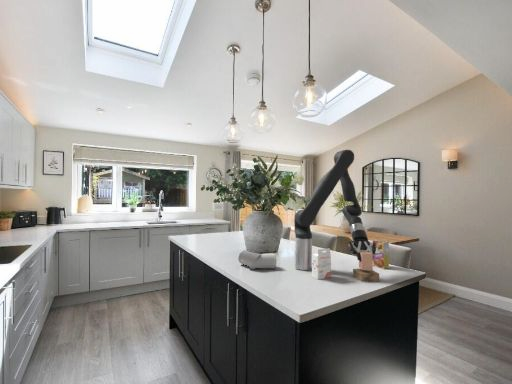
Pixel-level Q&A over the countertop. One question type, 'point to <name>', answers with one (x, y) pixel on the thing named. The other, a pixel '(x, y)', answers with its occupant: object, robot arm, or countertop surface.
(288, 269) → the countertop surface
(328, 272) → the ink cartridge box
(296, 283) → the countertop surface
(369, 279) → the walnut block
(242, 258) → the bent grey cylinder
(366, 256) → the terracotta block
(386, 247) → the candy box
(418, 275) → the countertop surface
